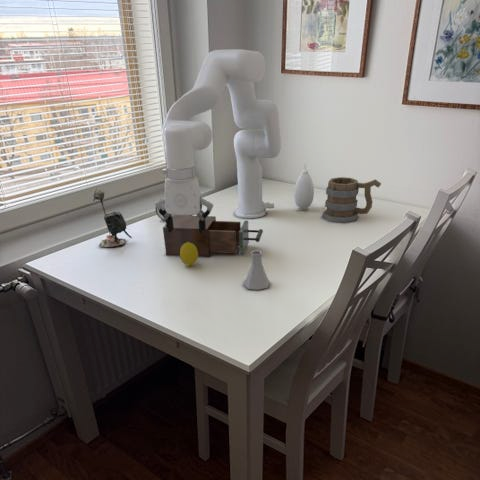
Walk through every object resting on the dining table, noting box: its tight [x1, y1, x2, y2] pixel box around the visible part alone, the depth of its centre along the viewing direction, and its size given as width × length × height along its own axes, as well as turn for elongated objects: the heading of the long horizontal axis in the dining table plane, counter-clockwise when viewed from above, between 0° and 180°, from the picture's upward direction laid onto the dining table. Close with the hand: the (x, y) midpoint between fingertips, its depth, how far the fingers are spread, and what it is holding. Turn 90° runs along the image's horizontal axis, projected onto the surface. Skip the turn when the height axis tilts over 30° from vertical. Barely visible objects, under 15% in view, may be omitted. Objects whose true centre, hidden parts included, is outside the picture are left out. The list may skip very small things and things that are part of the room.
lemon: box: [179, 242, 199, 267], centre depth 143 cm, size 6×6×8 cm
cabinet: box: [162, 215, 217, 258], centre depth 154 cm, size 15×12×10 cm
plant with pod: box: [92, 188, 133, 248], centre depth 158 cm, size 8×11×20 cm
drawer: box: [208, 220, 264, 256], centre depth 152 cm, size 19×11×8 cm, turn 80°
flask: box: [244, 249, 270, 291], centre depth 130 cm, size 7×7×10 cm
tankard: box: [322, 176, 382, 224], centre depth 174 cm, size 20×13×15 cm, turn 68°
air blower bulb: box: [293, 163, 315, 211], centre depth 184 cm, size 8×8×18 cm
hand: (186, 231), depth 139 cm, fingers open, 9 cm apart
